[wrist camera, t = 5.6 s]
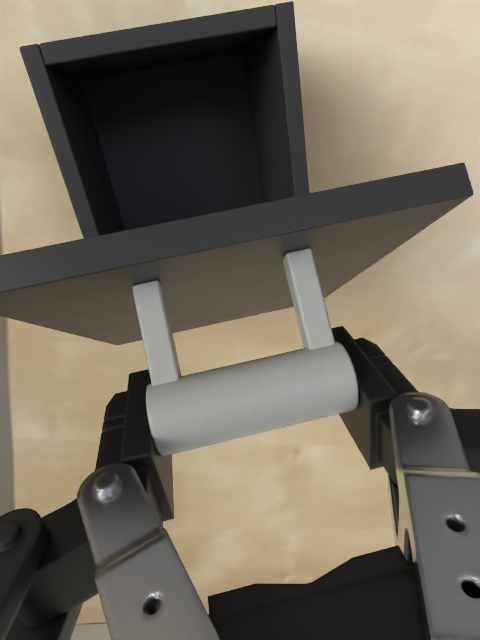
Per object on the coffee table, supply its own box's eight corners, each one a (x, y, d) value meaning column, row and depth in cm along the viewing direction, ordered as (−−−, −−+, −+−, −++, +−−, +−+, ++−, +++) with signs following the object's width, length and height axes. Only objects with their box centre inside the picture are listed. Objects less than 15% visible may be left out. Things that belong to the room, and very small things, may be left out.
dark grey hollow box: (66, 69, 26) (18, 46, 17) (251, 37, 27) (293, 0, 18) (128, 274, 32) (116, 334, 23) (276, 243, 33) (317, 290, 24)
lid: (-59, 266, 9) (-20, 516, 8) (464, 161, 10) (531, 382, 9) (113, 331, 23) (132, 424, 23) (318, 286, 24) (340, 375, 23)
